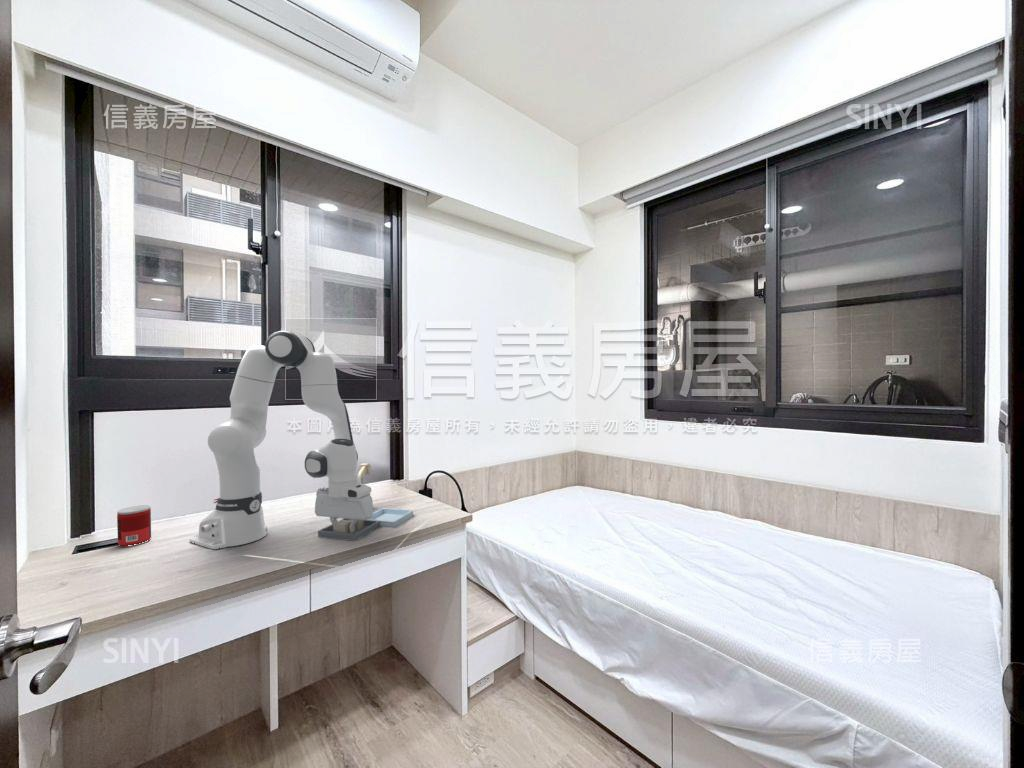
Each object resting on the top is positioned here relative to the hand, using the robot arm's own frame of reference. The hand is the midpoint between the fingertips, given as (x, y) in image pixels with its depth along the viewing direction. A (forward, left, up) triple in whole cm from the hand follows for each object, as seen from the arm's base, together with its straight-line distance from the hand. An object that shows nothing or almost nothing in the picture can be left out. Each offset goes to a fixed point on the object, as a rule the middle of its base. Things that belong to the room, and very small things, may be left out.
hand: (343, 530), depth 136 cm
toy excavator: (-13, +26, -2) cm, 30 cm away
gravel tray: (0, +3, -2) cm, 3 cm away
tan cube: (0, +6, -1) cm, 6 cm away
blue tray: (+6, +16, -2) cm, 18 cm away
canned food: (-63, -21, -2) cm, 66 cm away
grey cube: (0, 0, -1) cm, 1 cm away
